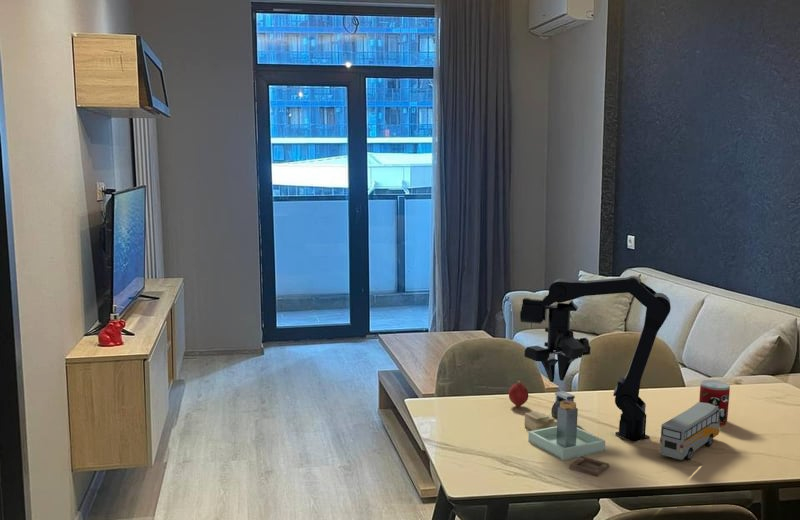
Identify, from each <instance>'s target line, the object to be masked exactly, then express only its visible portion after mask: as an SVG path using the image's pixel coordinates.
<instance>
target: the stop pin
mask: <svg viewBox="0 0 800 520" xmlns="http://www.w3.org/2000/svg"><path fill="white" fill-rule="evenodd" d="M578 412H579V410H578V408H577V402H576V401H574V402H573V401H568V400H564V401H560V406H558V417H557V439H556V443H557V444H559V445H561V446H563V447H565V448H567V447H572V446H576V436H577V427H578Z"/></svg>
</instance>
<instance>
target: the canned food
mask: <svg viewBox="0 0 800 520" xmlns="http://www.w3.org/2000/svg"><path fill="white" fill-rule="evenodd" d="M699 386H700V387H699V401H698V402H702V403H709V404H712V405H714V406H717V407H718V408H719V410H721V409H724V416H723V417H722V416H721V411H719V426H723V425H726V423H728V419H729V417H728V415H729V403H730V390H731V388H730V387H731V386H730V384H729V383H727V382H725V381H722V380H718V379H717V380H715V379H704V380H702V381H700V385H699Z"/></svg>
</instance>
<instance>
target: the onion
mask: <svg viewBox="0 0 800 520" xmlns="http://www.w3.org/2000/svg"><path fill="white" fill-rule="evenodd" d="M508 397H509V400H510V402H511V403H512V404H514V405H515V406H516V407H517V406H518V407H517V408H520V407H521V406H523V405H524V404H526V402H527V401H528V400H529V391H528V388H527V387H526V386H525V385H524V384H523V383H522V382H521V381H520V380H518V381H517V382H516V383H515V384H513V385H512V386H511V387H510V389H509V391H508Z"/></svg>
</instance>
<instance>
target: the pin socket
mask: <svg viewBox="0 0 800 520" xmlns="http://www.w3.org/2000/svg"><path fill="white" fill-rule="evenodd" d="M568 468H569V469H570V470H572V471H576V472H580V473H583V474H587V475H590V476H592V477H593V476H594V477H596V478H597V477H599V476H600V475H601V474H603V473H604V472H605V471H607V470H608V469H609V468H610V463H607V462H604V461H601V460H598V459H594V458H590V457H587V456H580V457H578V458H577V459H576V460H574V461H573V462H572V463H570V464H569V465H568Z"/></svg>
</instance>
